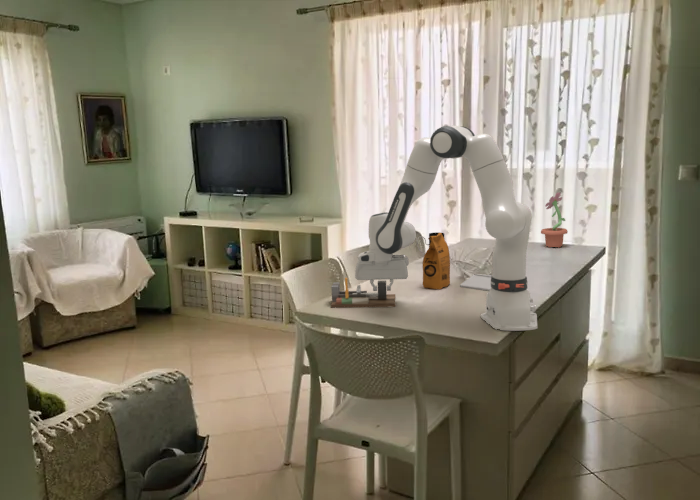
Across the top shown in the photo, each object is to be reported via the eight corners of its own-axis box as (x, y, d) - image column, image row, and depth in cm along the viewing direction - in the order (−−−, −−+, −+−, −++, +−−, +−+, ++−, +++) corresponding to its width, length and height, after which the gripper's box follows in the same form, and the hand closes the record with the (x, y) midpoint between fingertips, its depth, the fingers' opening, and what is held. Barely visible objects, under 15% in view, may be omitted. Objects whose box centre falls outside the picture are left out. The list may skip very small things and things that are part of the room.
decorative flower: (550, 243, 343) (552, 190, 337) (573, 246, 332) (574, 191, 327) (535, 247, 333) (536, 192, 328) (558, 250, 323) (559, 193, 317)
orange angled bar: (348, 298, 228) (347, 278, 227) (345, 298, 228) (344, 278, 227) (348, 296, 231) (348, 276, 229) (346, 296, 231) (345, 276, 229)
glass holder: (445, 265, 295) (445, 234, 293) (416, 265, 298) (416, 235, 295) (446, 261, 304) (445, 232, 301) (417, 261, 306) (416, 232, 304)
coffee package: (418, 288, 253) (417, 236, 249) (432, 281, 263) (431, 231, 259) (440, 290, 248) (439, 237, 244) (453, 284, 258) (453, 233, 254)
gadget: (491, 293, 243) (491, 284, 243) (459, 288, 253) (458, 279, 252) (517, 281, 260) (517, 273, 260) (485, 277, 270) (485, 269, 269)
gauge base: (395, 306, 227) (394, 288, 225) (331, 307, 229) (330, 289, 227) (395, 297, 240) (395, 279, 239) (335, 298, 242) (334, 280, 241)
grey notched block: (386, 301, 229) (385, 284, 228) (351, 301, 230) (350, 285, 229) (386, 297, 235) (386, 280, 234) (352, 297, 236) (352, 281, 235)
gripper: (408, 252, 233) (409, 288, 235) (355, 254, 235) (356, 289, 237) (408, 256, 227) (409, 292, 229) (353, 257, 228) (355, 293, 231)
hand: (382, 290), depth 233 cm, fingers open, 4 cm apart
